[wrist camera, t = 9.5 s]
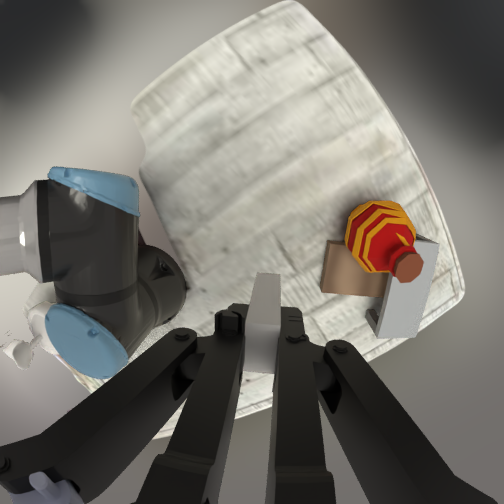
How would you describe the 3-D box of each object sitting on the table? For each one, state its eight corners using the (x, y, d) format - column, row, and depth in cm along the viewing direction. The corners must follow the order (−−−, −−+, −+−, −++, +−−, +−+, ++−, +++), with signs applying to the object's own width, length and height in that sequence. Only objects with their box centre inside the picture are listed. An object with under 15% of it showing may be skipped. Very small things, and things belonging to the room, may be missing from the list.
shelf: (365, 317, 46) (377, 338, 38) (381, 230, 42) (399, 239, 34) (399, 317, 45) (415, 337, 38) (417, 234, 41) (439, 244, 34)
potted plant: (77, 291, 51) (-1, 345, 26) (91, 337, 53) (27, 400, 29) (44, 290, 52) (-26, 333, 28) (58, 331, 55) (-3, 382, 31)
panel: (319, 285, 45) (321, 292, 43) (326, 239, 43) (330, 243, 40) (391, 291, 45) (397, 298, 42) (401, 249, 42) (408, 253, 40)
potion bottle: (395, 235, 42) (442, 284, 29) (341, 256, 44) (376, 315, 31) (384, 178, 37) (442, 213, 24) (325, 199, 39) (364, 245, 26)
